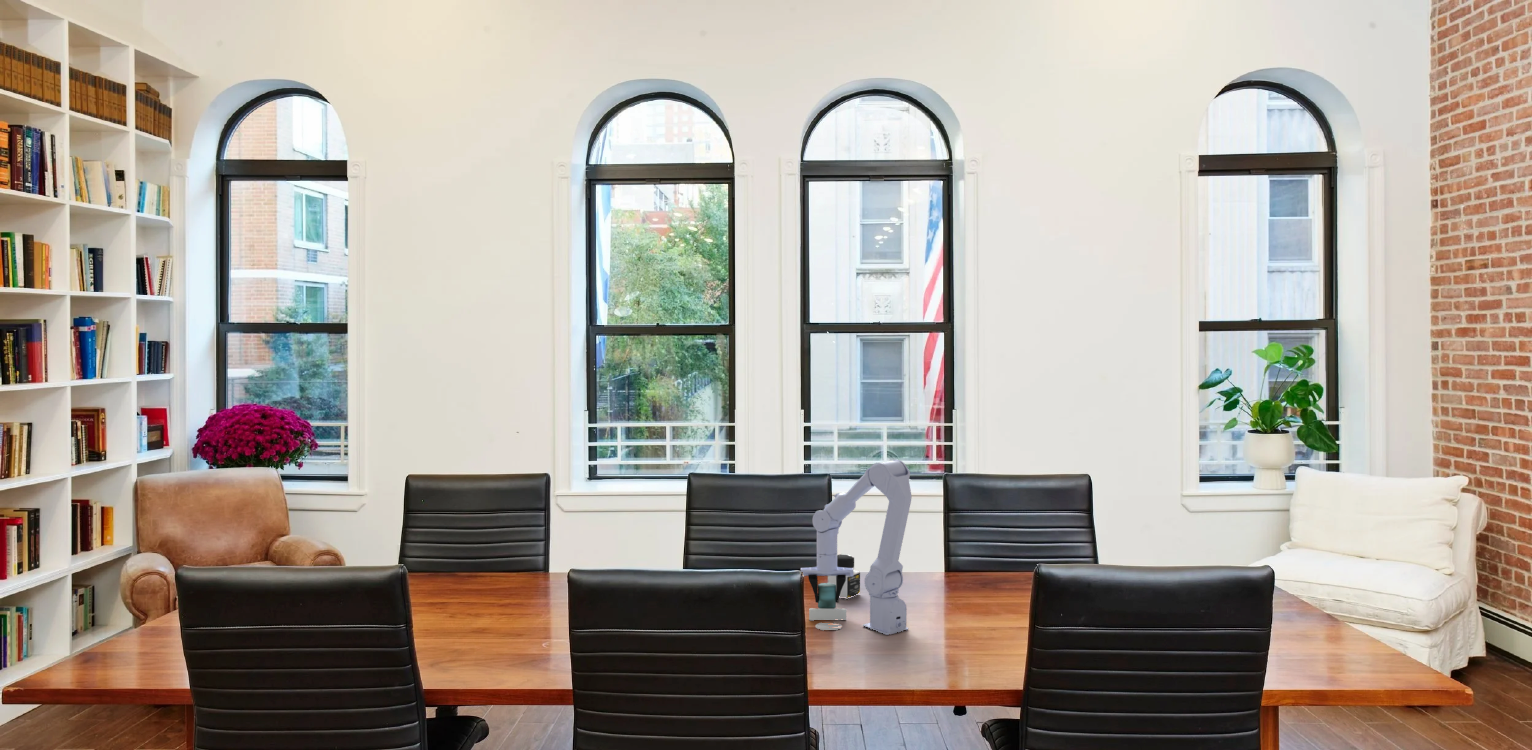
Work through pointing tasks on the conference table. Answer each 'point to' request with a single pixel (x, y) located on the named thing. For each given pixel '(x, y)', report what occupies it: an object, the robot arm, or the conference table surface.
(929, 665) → the conference table surface
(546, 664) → the conference table surface
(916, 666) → the conference table surface
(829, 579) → the medicine bottle
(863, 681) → the conference table surface
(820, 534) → the robot arm
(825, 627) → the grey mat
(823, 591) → the teal cylinder
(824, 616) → the divider wall
